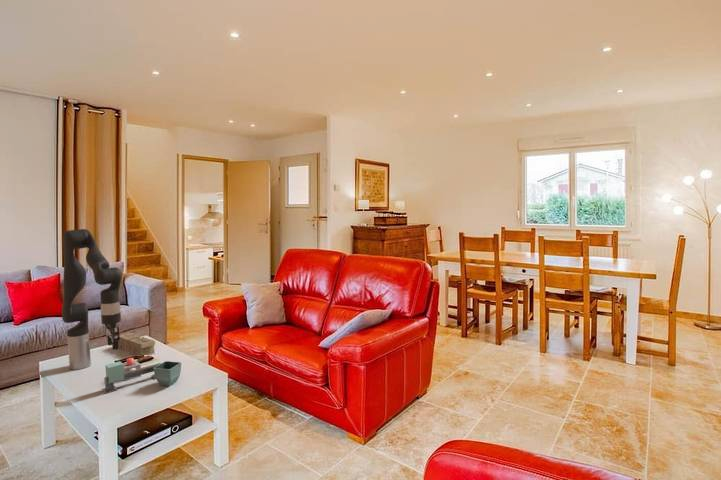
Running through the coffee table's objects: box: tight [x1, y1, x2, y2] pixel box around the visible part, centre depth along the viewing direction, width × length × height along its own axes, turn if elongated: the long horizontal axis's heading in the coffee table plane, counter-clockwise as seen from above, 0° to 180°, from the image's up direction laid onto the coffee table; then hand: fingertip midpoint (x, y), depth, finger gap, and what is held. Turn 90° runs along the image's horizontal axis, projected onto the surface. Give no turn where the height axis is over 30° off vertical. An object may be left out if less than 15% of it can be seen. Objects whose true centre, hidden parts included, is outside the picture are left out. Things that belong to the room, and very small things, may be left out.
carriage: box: [104, 361, 124, 383], centre depth 188 cm, size 5×6×7 cm
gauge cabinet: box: [123, 360, 142, 381], centre depth 201 cm, size 7×7×6 cm
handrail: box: [101, 362, 162, 395], centre depth 194 cm, size 5×26×6 cm, turn 134°
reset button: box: [125, 357, 135, 366], centre depth 201 cm, size 3×3×4 cm
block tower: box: [118, 332, 156, 356], centre depth 237 cm, size 8×8×29 cm
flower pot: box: [153, 360, 182, 387], centre depth 192 cm, size 9×9×9 cm
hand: (113, 347), depth 187 cm, fingers open, 8 cm apart
